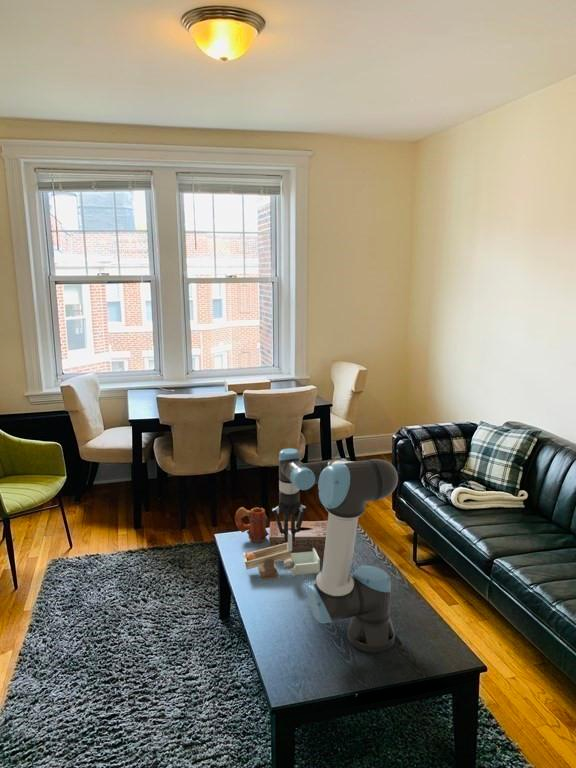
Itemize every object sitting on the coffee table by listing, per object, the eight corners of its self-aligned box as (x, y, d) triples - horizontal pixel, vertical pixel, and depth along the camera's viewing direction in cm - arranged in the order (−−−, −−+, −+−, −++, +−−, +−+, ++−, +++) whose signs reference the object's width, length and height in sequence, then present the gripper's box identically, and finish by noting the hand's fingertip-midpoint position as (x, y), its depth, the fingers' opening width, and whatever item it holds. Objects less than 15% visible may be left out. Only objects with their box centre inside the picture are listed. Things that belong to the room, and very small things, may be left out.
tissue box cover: (269, 559, 231) (269, 537, 229) (270, 542, 246) (270, 521, 244) (331, 559, 231) (332, 536, 229) (329, 542, 246) (329, 521, 244)
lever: (296, 569, 210) (294, 561, 209) (249, 581, 207) (247, 573, 206) (288, 549, 225) (287, 541, 224) (244, 560, 222) (243, 553, 221)
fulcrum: (278, 578, 217) (278, 561, 215) (260, 580, 216) (260, 562, 214) (274, 564, 227) (274, 548, 225) (257, 566, 226) (257, 549, 224)
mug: (269, 536, 251) (269, 504, 248) (267, 545, 243) (266, 512, 240) (237, 534, 252) (236, 503, 249) (234, 543, 244) (233, 511, 241)
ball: (256, 561, 218) (254, 554, 217) (248, 564, 217) (245, 557, 216) (255, 557, 221) (253, 549, 220) (247, 560, 221) (244, 552, 220)
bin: (319, 573, 220) (319, 559, 219) (293, 576, 218) (293, 562, 217) (314, 561, 229) (314, 547, 228) (288, 563, 227) (288, 550, 226)
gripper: (304, 485, 210) (304, 542, 215) (270, 487, 208) (270, 545, 213) (308, 493, 203) (308, 552, 208) (273, 495, 201) (273, 555, 206)
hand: (289, 549), depth 210 cm, fingers closed
